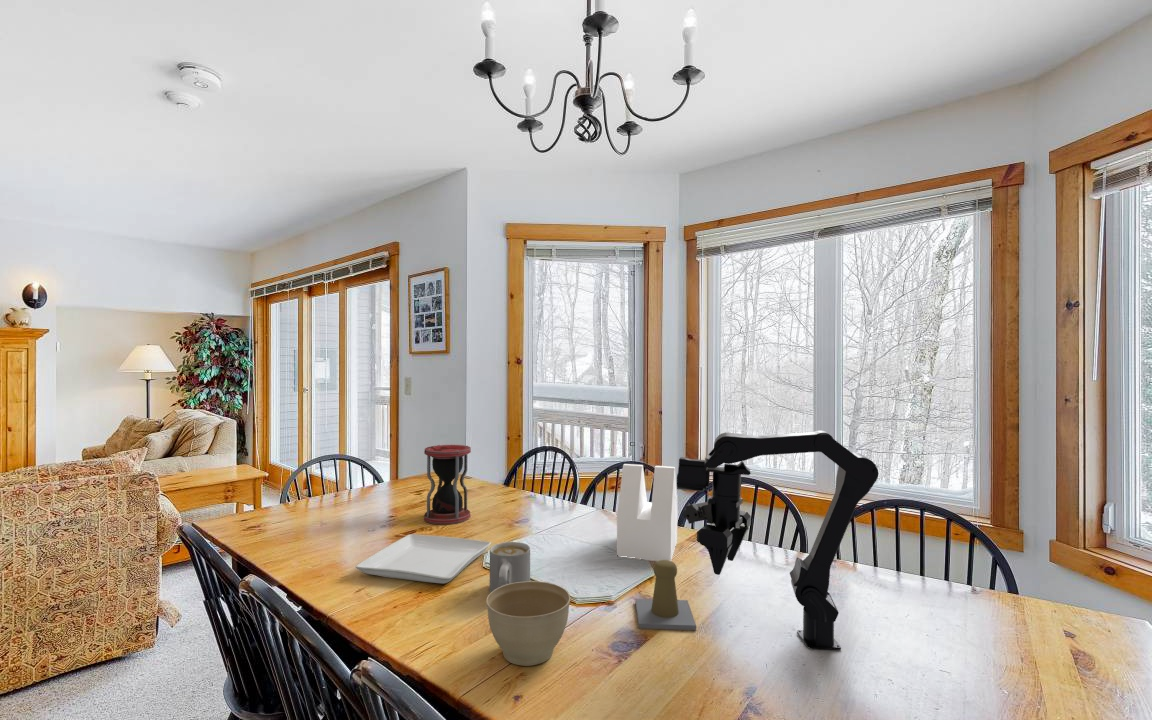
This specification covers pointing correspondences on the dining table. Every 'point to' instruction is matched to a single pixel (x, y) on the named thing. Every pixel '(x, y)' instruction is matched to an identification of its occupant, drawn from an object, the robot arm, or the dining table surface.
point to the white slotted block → (647, 514)
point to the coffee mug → (509, 564)
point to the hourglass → (447, 484)
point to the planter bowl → (528, 620)
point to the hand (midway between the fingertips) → (724, 567)
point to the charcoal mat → (655, 622)
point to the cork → (665, 590)
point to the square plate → (424, 558)
